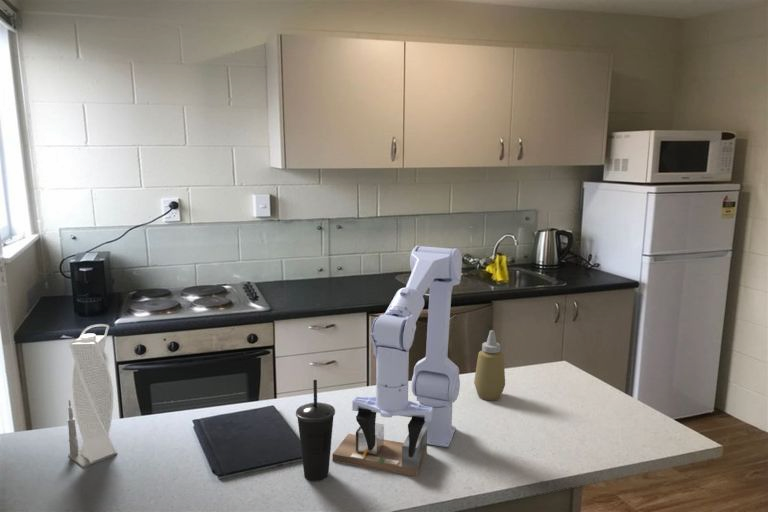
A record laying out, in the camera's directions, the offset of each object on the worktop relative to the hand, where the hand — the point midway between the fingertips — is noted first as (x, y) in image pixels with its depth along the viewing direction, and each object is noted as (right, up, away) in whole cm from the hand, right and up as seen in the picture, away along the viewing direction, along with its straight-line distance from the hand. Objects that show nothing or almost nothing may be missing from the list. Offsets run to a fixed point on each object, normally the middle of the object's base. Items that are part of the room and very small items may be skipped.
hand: (391, 451), depth 105 cm
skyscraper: (-62, -7, +17) cm, 65 cm away
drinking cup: (-15, -8, +10) cm, 20 cm away
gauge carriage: (-5, -5, +16) cm, 17 cm away
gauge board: (-2, -7, +17) cm, 18 cm away
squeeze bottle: (+26, -2, +47) cm, 54 cm away
